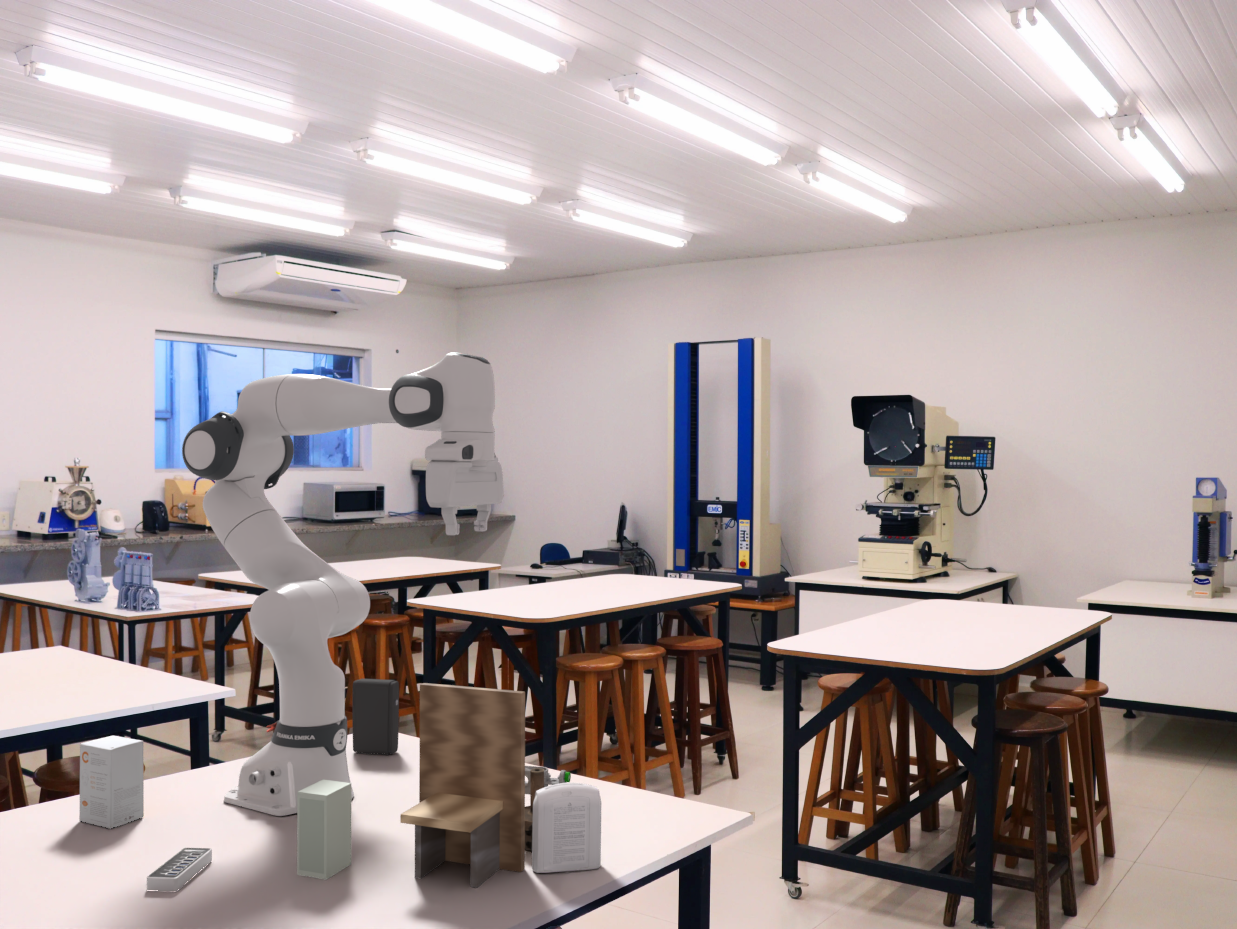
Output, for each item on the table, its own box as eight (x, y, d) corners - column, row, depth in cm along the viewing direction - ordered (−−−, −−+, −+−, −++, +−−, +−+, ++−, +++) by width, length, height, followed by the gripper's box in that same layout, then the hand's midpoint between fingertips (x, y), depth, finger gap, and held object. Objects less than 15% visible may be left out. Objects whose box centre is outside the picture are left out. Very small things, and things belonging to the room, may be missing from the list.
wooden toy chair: (381, 882, 141) (382, 698, 141) (423, 853, 151) (423, 682, 151) (489, 900, 135) (489, 708, 135) (524, 869, 145) (525, 691, 146)
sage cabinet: (296, 875, 143) (297, 791, 143) (322, 859, 149) (323, 779, 149) (326, 879, 142) (326, 795, 142) (351, 864, 147) (351, 783, 147)
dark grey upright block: (401, 751, 206) (401, 679, 206) (393, 756, 202) (393, 683, 203) (359, 748, 208) (360, 677, 208) (351, 754, 204) (351, 681, 204)
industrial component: (512, 839, 157) (512, 763, 157) (557, 836, 159) (557, 761, 159) (516, 862, 148) (516, 781, 148) (564, 859, 149) (564, 779, 149)
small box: (144, 817, 167) (144, 740, 167) (110, 830, 161) (110, 749, 161) (112, 810, 170) (113, 734, 170) (78, 821, 165) (78, 743, 165)
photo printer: (597, 859, 149) (598, 777, 149) (604, 870, 145) (604, 785, 145) (529, 865, 147) (530, 781, 147) (534, 876, 143) (534, 790, 143)
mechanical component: (567, 836, 159) (567, 773, 159) (505, 831, 161) (505, 769, 161) (571, 829, 161) (571, 768, 162) (511, 825, 164) (511, 764, 164)
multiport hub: (145, 894, 138) (145, 877, 138) (184, 862, 149) (184, 847, 149) (176, 895, 137) (176, 878, 137) (212, 863, 148) (213, 847, 148)
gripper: (480, 450, 176) (480, 528, 176) (418, 449, 157) (418, 536, 157) (512, 451, 174) (512, 529, 174) (453, 449, 155) (453, 537, 155)
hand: (466, 533), depth 166 cm, fingers open, 8 cm apart
